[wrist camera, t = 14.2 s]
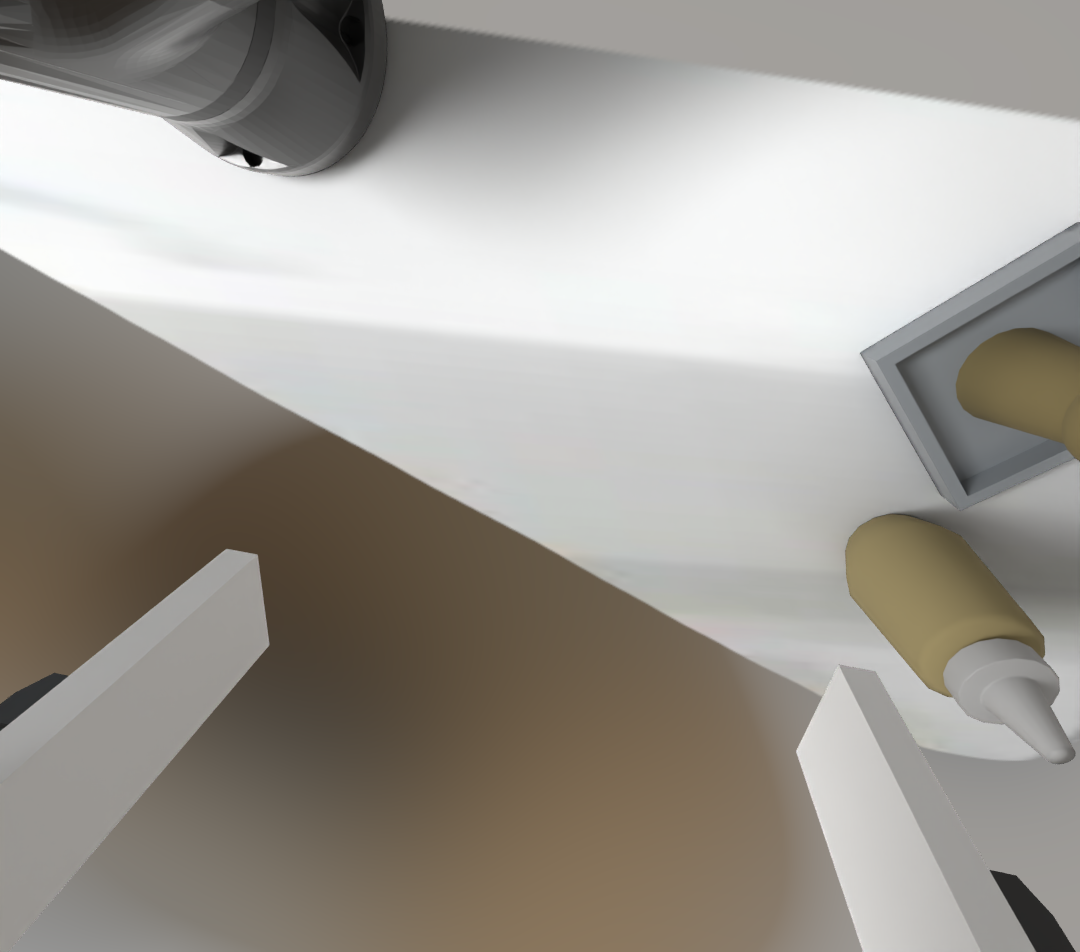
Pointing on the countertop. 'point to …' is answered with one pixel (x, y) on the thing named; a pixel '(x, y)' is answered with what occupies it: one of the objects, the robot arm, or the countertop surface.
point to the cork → (1025, 384)
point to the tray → (943, 346)
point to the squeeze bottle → (956, 626)
